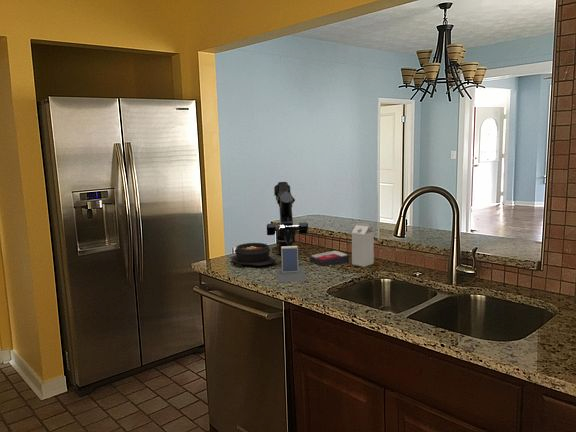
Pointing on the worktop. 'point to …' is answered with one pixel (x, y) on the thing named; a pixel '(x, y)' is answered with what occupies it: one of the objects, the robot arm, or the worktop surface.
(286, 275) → the mat
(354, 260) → the milk carton
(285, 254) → the box
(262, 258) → the casserole
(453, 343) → the worktop surface
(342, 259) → the calculator
